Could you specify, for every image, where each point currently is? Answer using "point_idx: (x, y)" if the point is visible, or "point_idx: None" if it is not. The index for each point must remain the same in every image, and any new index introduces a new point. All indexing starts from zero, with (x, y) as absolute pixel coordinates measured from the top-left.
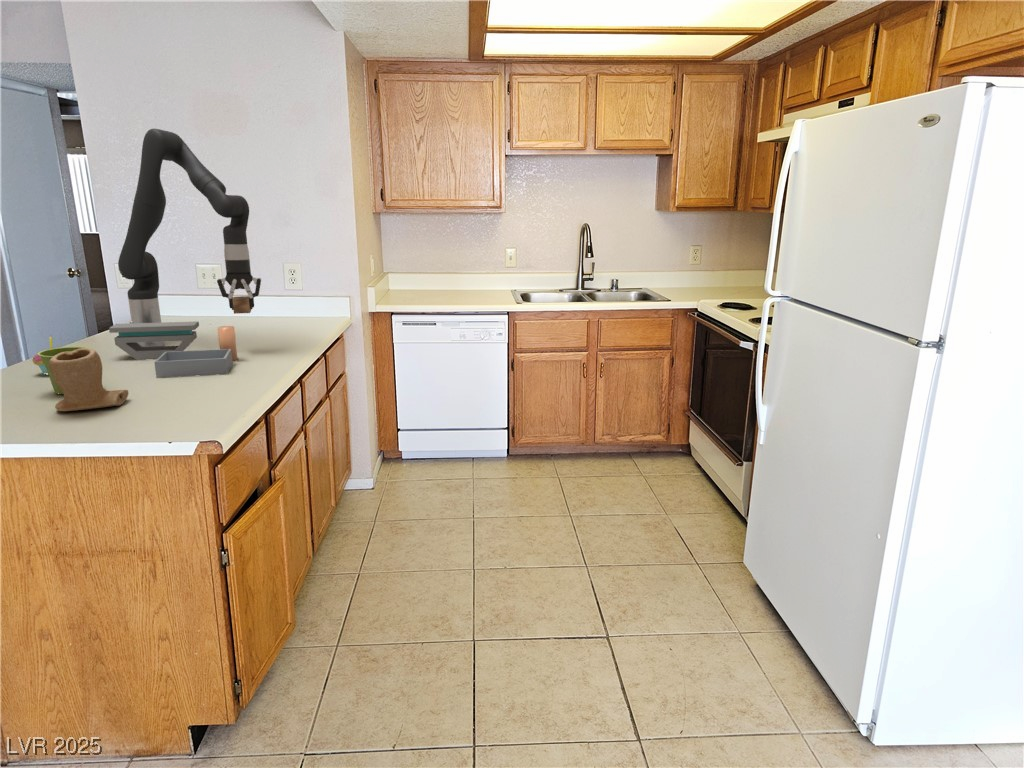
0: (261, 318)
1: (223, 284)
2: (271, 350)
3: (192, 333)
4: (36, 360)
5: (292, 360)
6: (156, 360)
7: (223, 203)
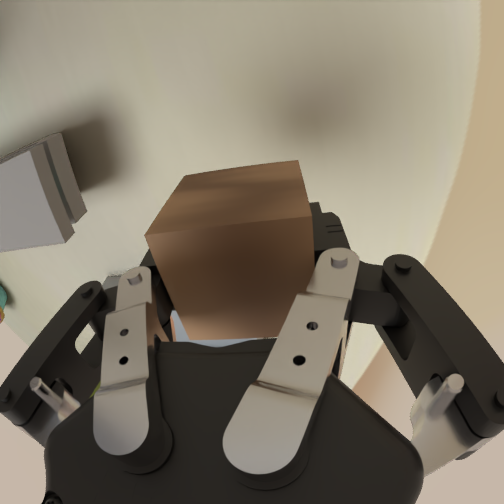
0: None
1: (73, 403)
2: (342, 90)
3: (58, 187)
4: None
5: (407, 250)
6: None
7: None
